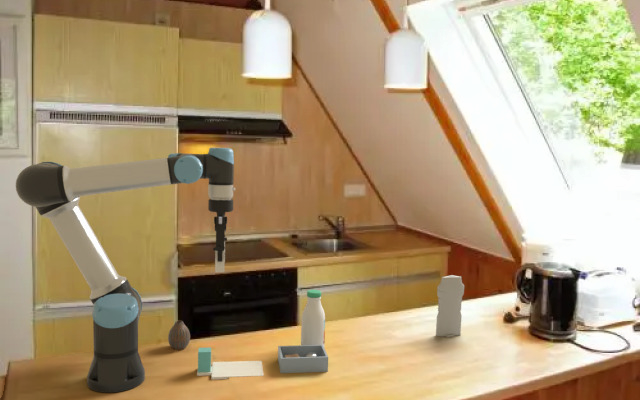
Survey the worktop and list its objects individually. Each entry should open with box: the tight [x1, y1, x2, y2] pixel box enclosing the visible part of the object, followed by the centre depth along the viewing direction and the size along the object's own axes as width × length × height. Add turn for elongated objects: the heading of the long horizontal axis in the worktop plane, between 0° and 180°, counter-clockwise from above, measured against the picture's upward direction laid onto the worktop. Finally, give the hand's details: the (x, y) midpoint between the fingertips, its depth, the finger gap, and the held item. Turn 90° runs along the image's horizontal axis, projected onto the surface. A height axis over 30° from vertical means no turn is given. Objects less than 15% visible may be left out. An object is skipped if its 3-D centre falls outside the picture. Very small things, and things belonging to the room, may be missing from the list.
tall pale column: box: [435, 274, 465, 338], centre depth 203 cm, size 11×4×22 cm, turn 105°
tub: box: [277, 344, 329, 374], centre depth 171 cm, size 14×10×5 cm
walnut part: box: [284, 354, 300, 358], centre depth 171 cm, size 4×4×3 cm
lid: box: [196, 347, 264, 381], centre depth 167 cm, size 19×11×7 cm, turn 99°
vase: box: [167, 320, 191, 351], centre depth 184 cm, size 7×7×9 cm
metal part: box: [306, 352, 317, 357], centre depth 172 cm, size 3×3×3 cm
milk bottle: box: [300, 289, 326, 347], centre depth 184 cm, size 8×8×20 cm
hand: (220, 266), depth 175 cm, fingers open, 13 cm apart
